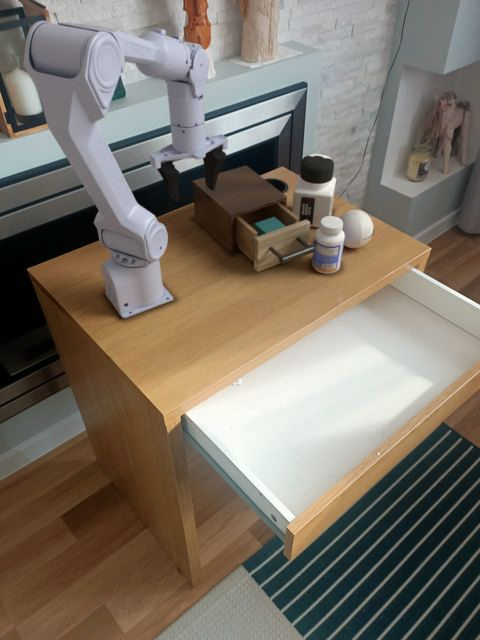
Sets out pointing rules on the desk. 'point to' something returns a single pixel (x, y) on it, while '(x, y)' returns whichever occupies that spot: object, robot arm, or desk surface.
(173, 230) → the desk surface
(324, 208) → the container
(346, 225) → the white ball
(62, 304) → the desk surface
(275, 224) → the block
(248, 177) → the cabinet
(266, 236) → the drawer
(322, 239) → the pill bottle
